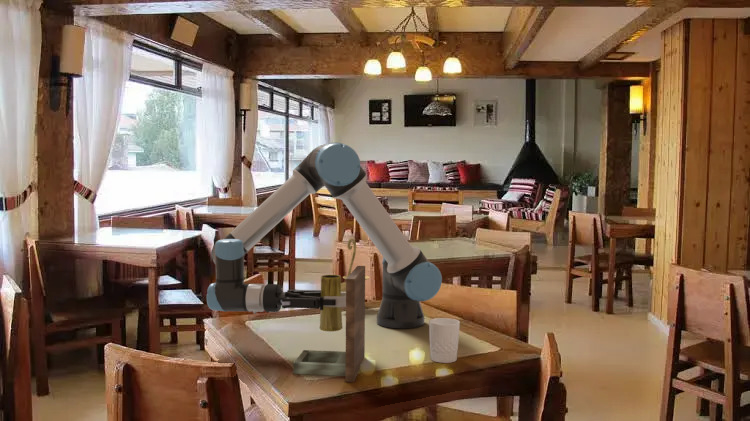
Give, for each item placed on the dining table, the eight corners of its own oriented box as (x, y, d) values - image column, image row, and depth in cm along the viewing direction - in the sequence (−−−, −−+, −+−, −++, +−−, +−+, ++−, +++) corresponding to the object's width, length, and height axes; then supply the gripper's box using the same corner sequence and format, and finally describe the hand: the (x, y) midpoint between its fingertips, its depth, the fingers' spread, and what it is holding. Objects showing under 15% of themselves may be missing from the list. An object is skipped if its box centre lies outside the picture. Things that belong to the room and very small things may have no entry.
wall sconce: (358, 313, 220) (358, 240, 218) (332, 310, 223) (333, 238, 222) (373, 305, 233) (373, 236, 231) (348, 303, 236) (349, 235, 235)
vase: (345, 327, 175) (345, 275, 174) (337, 332, 170) (337, 278, 169) (325, 325, 177) (324, 273, 176) (315, 330, 172) (315, 277, 171)
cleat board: (289, 379, 151) (289, 277, 149) (307, 354, 170) (307, 264, 169) (354, 382, 149) (354, 278, 147) (364, 357, 169) (365, 266, 167)
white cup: (426, 355, 171) (426, 317, 171) (455, 354, 172) (456, 317, 171) (431, 364, 163) (431, 325, 163) (462, 363, 164) (462, 324, 163)
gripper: (274, 304, 184) (355, 306, 182) (255, 319, 166) (345, 321, 164) (273, 278, 184) (354, 279, 181) (255, 290, 165) (345, 292, 163)
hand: (350, 299), depth 172 cm, fingers closed on vase, 5 cm apart
